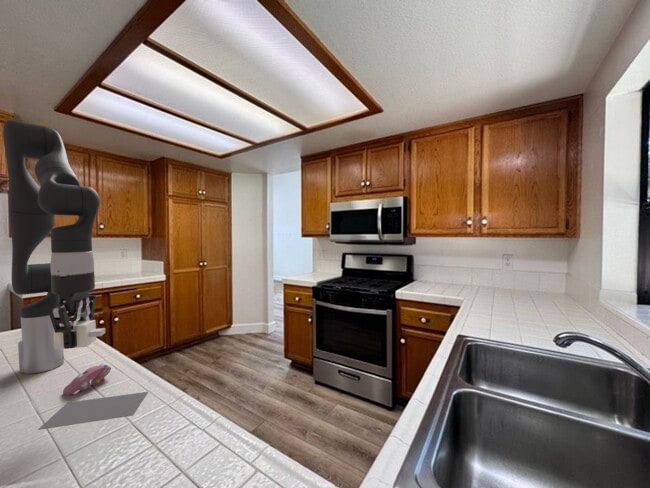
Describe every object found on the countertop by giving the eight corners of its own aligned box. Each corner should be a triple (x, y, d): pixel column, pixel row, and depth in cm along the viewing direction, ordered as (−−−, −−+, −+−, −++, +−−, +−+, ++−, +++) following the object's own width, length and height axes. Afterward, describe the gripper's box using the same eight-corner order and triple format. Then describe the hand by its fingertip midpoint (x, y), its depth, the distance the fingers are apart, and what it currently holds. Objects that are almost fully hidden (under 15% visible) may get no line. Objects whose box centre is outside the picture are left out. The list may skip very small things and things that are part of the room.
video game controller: (72, 404, 73) (81, 381, 72) (59, 394, 74) (68, 372, 73) (108, 384, 83) (116, 363, 82) (96, 376, 83) (104, 356, 82)
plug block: (50, 350, 63) (49, 328, 63) (61, 343, 67) (60, 322, 67) (99, 345, 65) (98, 324, 65) (107, 339, 69) (106, 319, 69)
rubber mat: (38, 431, 60) (37, 429, 60) (67, 404, 70) (67, 402, 70) (133, 417, 65) (133, 415, 65) (148, 393, 75) (148, 391, 75)
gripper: (72, 268, 71) (75, 334, 72) (30, 276, 57) (34, 359, 58) (107, 267, 73) (109, 332, 74) (73, 275, 59) (77, 355, 60)
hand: (76, 343), depth 66 cm, fingers closed on plug block, 4 cm apart
